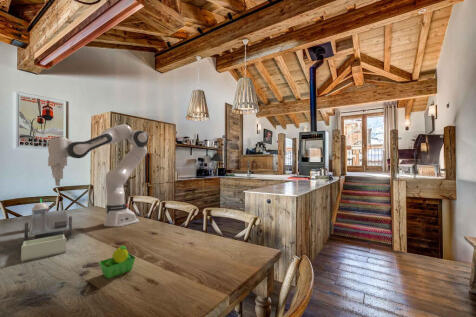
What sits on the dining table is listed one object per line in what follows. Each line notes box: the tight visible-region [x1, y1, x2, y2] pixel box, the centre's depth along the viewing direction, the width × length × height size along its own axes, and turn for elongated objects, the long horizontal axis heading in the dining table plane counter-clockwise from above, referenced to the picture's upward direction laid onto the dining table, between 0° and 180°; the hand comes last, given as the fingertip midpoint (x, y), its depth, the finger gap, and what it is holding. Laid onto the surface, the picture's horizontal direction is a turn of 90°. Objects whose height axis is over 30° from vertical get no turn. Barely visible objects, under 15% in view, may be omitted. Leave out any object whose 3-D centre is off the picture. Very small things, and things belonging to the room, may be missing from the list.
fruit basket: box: [98, 245, 136, 279], centre depth 87 cm, size 11×9×11 cm
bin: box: [20, 233, 67, 263], centre depth 106 cm, size 16×16×7 cm
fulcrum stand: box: [23, 215, 73, 242], centre depth 124 cm, size 20×4×11 cm, turn 132°
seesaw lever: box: [28, 208, 69, 237], centre depth 124 cm, size 16×28×4 cm, turn 42°
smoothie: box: [31, 198, 50, 212], centre depth 142 cm, size 8×8×20 cm
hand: (57, 185), depth 131 cm, fingers closed
